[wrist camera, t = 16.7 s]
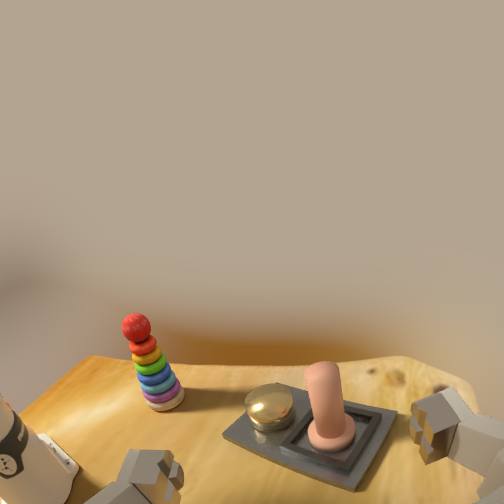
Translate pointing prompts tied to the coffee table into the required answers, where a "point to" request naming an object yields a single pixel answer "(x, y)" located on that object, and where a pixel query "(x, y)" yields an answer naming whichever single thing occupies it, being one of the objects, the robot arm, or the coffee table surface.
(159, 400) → the stacking toy
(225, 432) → the carrier plate
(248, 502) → the coffee table surface
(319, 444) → the pink peg on base
